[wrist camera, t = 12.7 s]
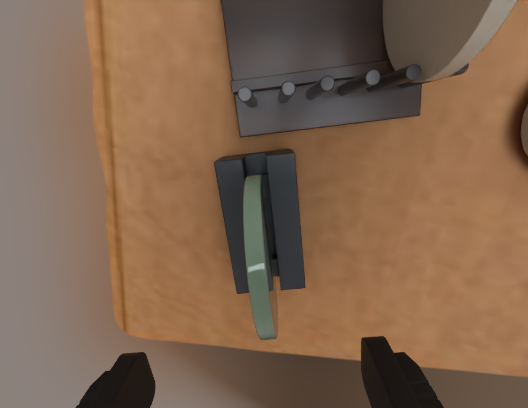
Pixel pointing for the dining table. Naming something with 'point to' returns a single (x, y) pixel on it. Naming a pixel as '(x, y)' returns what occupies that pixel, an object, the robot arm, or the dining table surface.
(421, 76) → the cream plate
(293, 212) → the plate stand
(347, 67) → the dish rack
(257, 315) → the sage plate
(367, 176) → the dining table surface
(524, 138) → the donut
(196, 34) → the dining table surface
